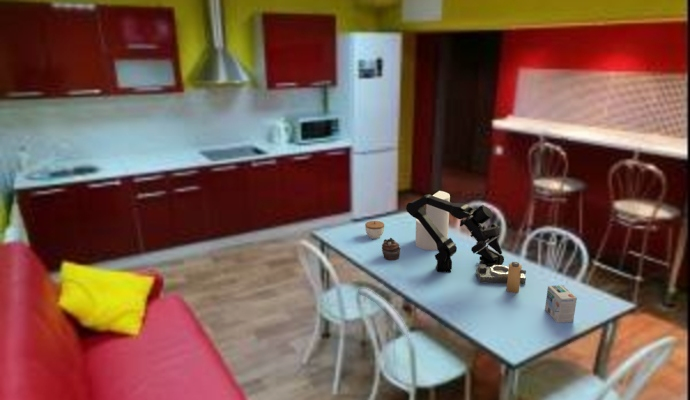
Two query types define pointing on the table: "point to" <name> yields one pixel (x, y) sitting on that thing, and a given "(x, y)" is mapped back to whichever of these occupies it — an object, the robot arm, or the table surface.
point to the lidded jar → (374, 229)
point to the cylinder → (438, 219)
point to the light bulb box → (560, 303)
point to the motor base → (494, 278)
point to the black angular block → (496, 256)
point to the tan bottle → (514, 277)
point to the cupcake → (391, 249)
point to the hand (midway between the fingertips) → (497, 257)
